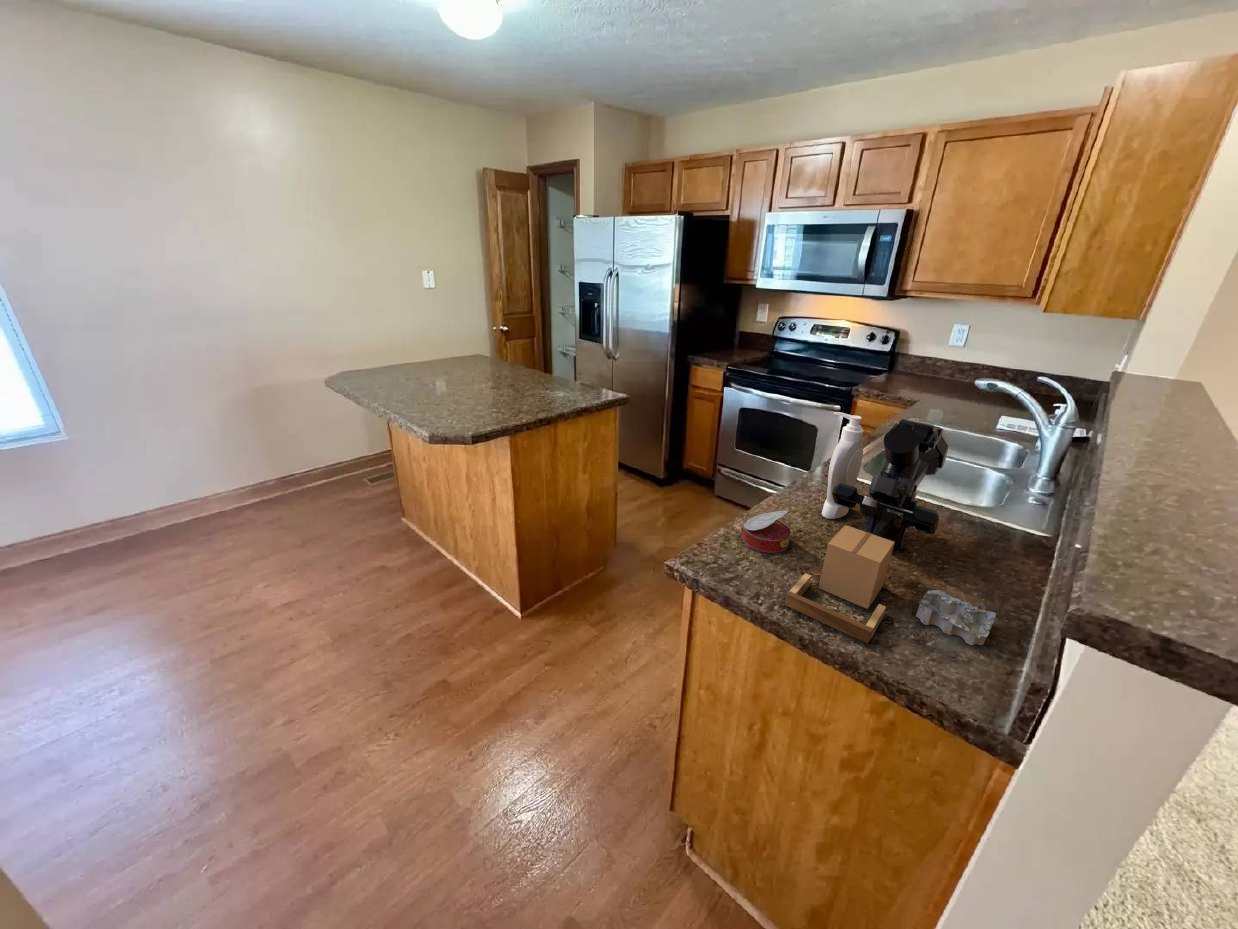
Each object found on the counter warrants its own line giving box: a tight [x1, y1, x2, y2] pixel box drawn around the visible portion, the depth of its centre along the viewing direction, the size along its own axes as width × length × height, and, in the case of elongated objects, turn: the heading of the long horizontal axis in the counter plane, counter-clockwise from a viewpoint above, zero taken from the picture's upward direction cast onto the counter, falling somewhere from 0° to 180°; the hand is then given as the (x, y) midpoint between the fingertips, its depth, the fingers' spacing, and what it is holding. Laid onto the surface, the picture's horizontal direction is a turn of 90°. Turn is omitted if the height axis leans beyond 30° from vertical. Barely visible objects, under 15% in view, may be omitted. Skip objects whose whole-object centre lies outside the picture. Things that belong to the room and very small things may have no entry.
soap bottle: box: [821, 411, 865, 520], centre depth 121 cm, size 13×8×24 cm, turn 133°
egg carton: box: [915, 589, 997, 646], centre depth 88 cm, size 11×8×4 cm
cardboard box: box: [818, 524, 895, 610], centre depth 95 cm, size 9×9×10 cm
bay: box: [784, 573, 887, 645], centre depth 90 cm, size 8×14×2 cm, turn 49°
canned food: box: [741, 509, 791, 554], centre depth 111 cm, size 11×10×10 cm
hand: (867, 546), depth 98 cm, fingers closed
